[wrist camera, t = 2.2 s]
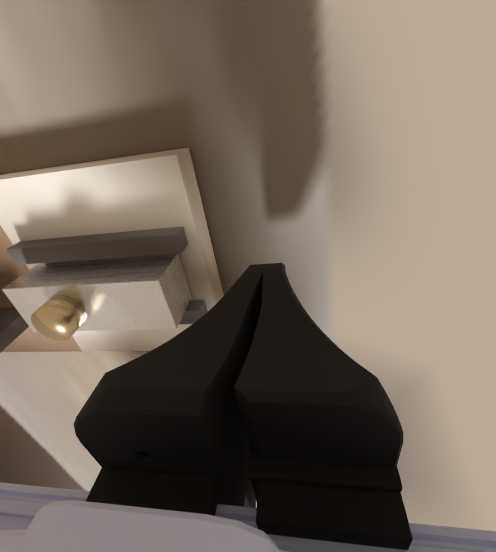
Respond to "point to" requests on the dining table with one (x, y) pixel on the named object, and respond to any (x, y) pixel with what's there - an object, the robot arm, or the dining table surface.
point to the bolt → (102, 295)
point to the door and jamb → (105, 236)
